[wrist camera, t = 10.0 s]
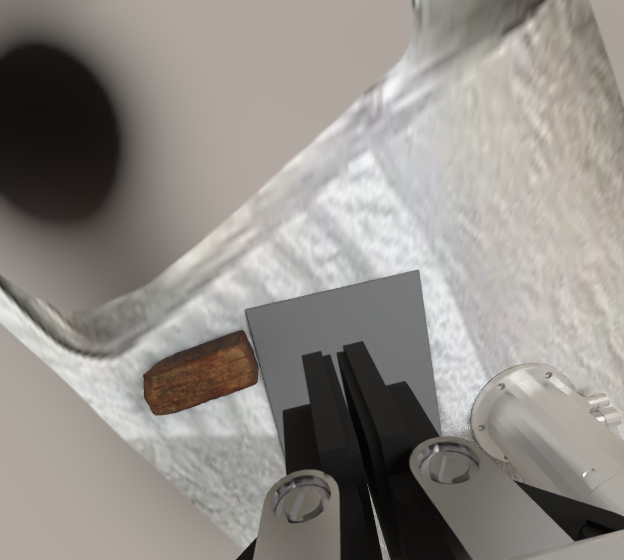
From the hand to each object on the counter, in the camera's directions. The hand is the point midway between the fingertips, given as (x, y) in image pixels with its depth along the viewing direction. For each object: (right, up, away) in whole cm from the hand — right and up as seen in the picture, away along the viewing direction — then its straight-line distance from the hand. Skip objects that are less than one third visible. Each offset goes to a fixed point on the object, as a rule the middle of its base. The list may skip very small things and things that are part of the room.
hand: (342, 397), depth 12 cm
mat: (+3, -8, +36) cm, 37 cm away
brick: (-12, -11, +31) cm, 35 cm away
